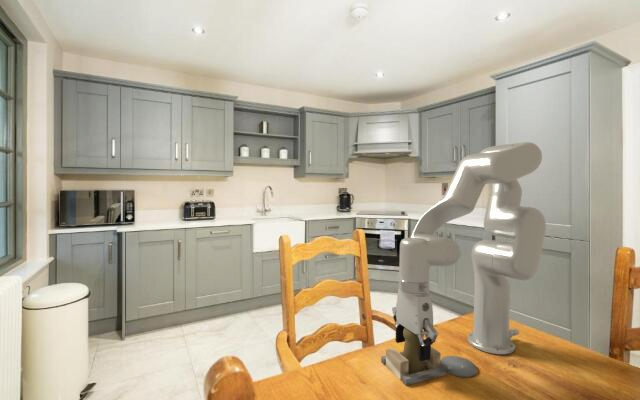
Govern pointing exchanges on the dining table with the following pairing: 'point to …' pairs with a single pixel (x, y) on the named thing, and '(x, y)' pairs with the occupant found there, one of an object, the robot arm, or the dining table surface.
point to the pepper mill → (412, 352)
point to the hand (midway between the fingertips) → (412, 350)
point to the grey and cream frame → (400, 365)
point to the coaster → (459, 366)
